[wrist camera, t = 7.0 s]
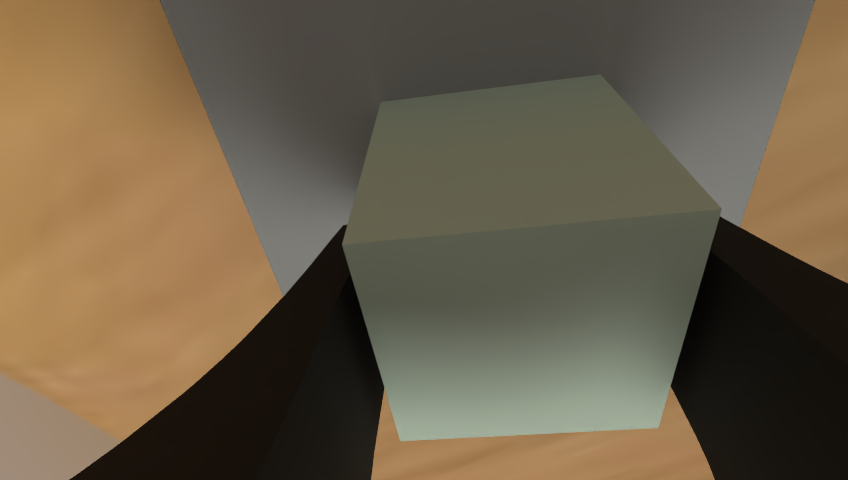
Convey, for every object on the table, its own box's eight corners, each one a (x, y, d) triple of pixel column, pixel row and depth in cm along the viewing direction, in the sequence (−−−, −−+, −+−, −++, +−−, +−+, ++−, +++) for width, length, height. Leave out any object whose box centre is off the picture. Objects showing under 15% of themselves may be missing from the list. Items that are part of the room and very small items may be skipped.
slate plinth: (779, -114, 9) (853, -115, 8) (679, 272, 15) (709, 318, 13) (198, -27, 10) (155, -12, 9) (317, 302, 16) (304, 347, 14)
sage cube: (600, 74, 9) (721, 208, 5) (584, 249, 12) (658, 427, 8) (380, 101, 10) (341, 244, 6) (412, 265, 12) (400, 441, 8)
